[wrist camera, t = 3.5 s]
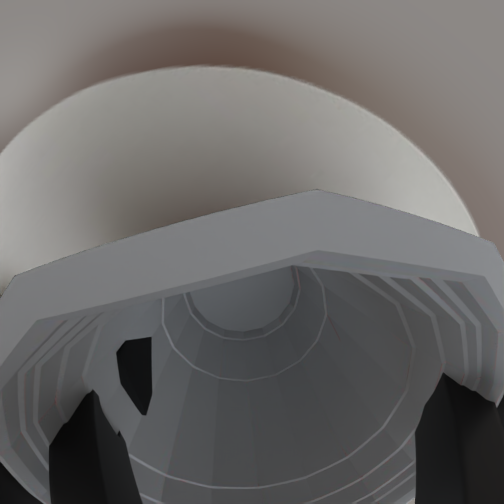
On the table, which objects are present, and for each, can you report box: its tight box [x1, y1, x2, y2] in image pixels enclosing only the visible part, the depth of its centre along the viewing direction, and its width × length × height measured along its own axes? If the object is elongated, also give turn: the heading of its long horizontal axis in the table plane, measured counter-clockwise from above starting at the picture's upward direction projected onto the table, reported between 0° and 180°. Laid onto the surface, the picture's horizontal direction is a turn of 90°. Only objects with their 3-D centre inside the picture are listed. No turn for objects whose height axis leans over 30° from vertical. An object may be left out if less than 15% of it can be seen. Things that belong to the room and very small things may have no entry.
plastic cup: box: [0, 189, 504, 504], centre depth 8 cm, size 11×11×12 cm
